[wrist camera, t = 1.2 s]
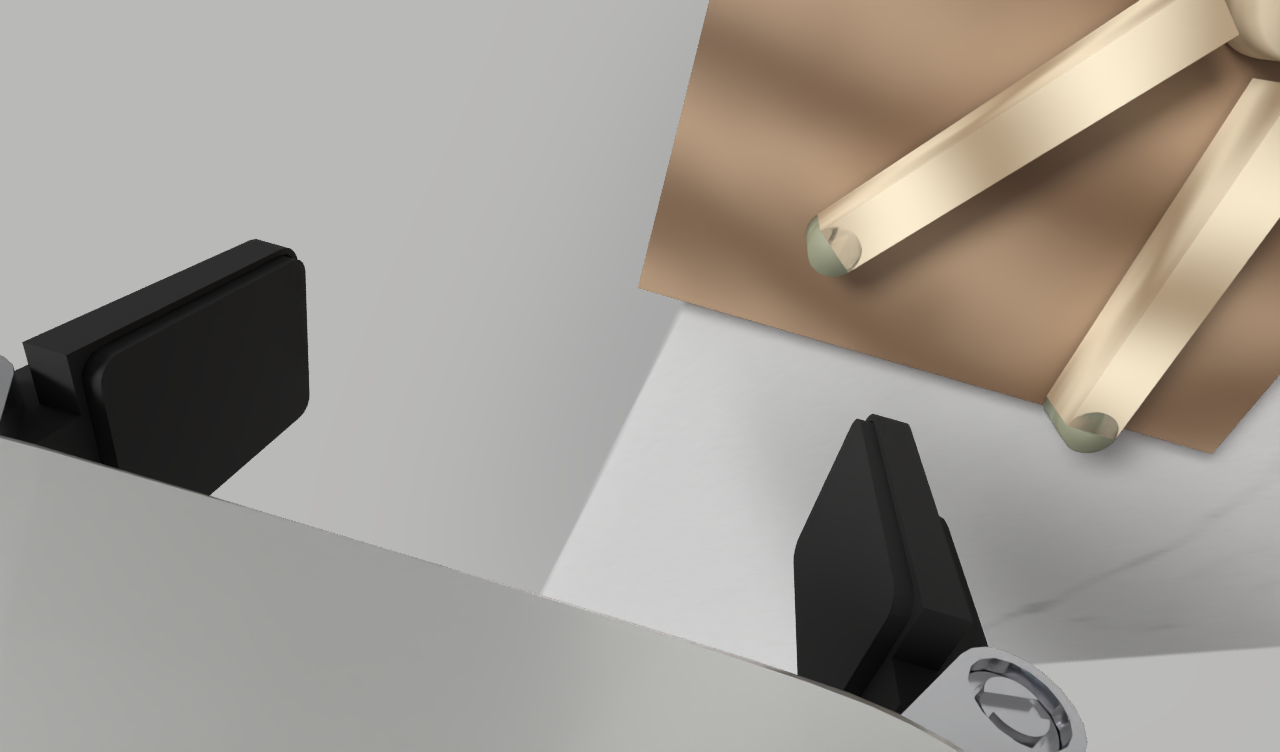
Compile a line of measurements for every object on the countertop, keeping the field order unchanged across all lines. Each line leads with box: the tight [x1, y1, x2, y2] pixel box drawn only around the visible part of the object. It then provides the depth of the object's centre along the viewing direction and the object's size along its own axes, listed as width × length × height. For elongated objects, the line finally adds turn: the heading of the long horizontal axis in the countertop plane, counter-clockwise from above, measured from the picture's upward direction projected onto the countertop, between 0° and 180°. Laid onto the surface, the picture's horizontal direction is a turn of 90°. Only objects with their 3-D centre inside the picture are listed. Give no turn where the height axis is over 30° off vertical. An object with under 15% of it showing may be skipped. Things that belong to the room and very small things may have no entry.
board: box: [638, 0, 1280, 454], centre depth 24 cm, size 17×24×2 cm
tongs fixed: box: [1044, 78, 1280, 453], centre depth 22 cm, size 16×3×3 cm, turn 167°
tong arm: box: [806, 0, 1280, 277], centre depth 21 cm, size 17×4×2 cm, turn 129°
